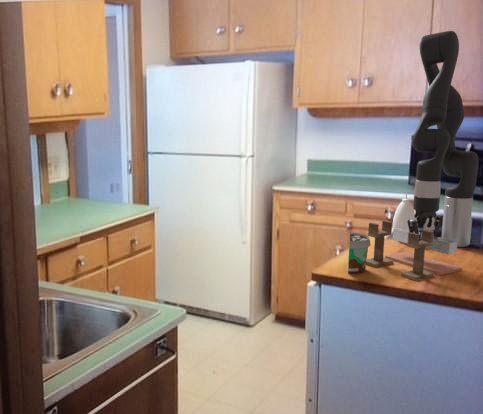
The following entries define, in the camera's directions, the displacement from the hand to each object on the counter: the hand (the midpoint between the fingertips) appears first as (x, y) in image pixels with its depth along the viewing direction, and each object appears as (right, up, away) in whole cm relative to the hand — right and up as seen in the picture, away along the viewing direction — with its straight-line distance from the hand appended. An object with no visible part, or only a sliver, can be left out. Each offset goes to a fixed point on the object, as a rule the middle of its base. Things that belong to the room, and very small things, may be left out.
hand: (422, 249), depth 168 cm
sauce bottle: (+3, +1, +30) cm, 30 cm away
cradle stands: (-9, -6, -6) cm, 12 cm away
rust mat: (0, -5, +1) cm, 5 cm away
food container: (-21, -6, -6) cm, 23 cm away
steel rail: (0, +1, 0) cm, 1 cm away
